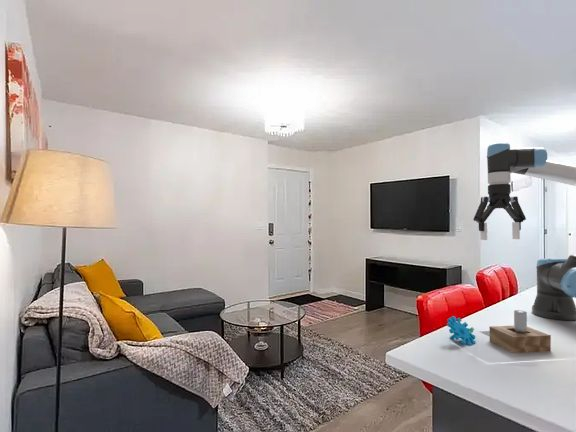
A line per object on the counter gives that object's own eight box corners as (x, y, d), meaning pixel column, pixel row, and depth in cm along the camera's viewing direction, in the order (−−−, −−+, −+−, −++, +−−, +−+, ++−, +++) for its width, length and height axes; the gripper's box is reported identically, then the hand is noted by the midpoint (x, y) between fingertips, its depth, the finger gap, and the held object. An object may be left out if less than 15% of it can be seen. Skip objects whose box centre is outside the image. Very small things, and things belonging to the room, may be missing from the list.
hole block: (523, 340, 113) (523, 325, 113) (550, 352, 103) (550, 335, 103) (489, 342, 111) (489, 326, 111) (513, 354, 101) (513, 337, 101)
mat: (505, 331, 122) (505, 330, 122) (523, 339, 114) (523, 338, 114) (479, 332, 120) (479, 331, 120) (495, 340, 113) (495, 339, 113)
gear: (461, 344, 105) (444, 314, 112) (448, 353, 108) (432, 324, 115) (485, 343, 109) (467, 315, 116) (472, 352, 113) (455, 324, 120)
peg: (521, 345, 108) (521, 310, 108) (529, 349, 105) (529, 312, 105) (511, 346, 108) (511, 310, 108) (519, 349, 105) (519, 313, 105)
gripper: (520, 185, 139) (521, 238, 139) (462, 185, 136) (463, 239, 136) (536, 183, 132) (537, 239, 132) (475, 183, 128) (476, 240, 128)
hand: (500, 239), depth 134 cm, fingers open, 13 cm apart
